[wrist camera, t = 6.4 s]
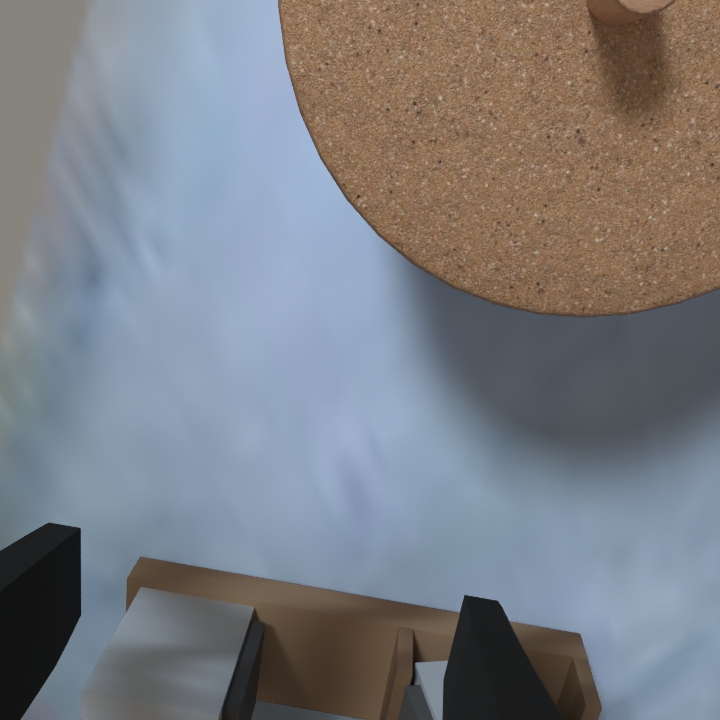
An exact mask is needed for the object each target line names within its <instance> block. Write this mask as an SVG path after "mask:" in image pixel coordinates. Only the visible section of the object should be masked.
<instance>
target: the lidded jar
mask: <svg viewBox="0 0 720 720" xmlns="http://www.w3.org/2000/svg"><path fill="white" fill-rule="evenodd" d="M278 8H279V15H280V23H281V30H282V38H283V45H284V53H285V60H286V64H287V68H288V72H289V75H290V79H291V82H292V86H293V89H294V93H295V96H296V100H297V103H298V107H299V111H300V114H301V116H302V118H303V120H304V123H305V125H306V127H307V129H308V131H309V134H310V136H311V138H312V140H313V143H314V145H315V147H316V149H317V152H318V154H319V156H320V158H321V160H322V162H323V163H324V165H325V166H326V168H327V169H328V171H329V173H330V174H331V176H332V177H333V179H334V180H335V182H336V184H337V185H338V187H339V188H340V190H341V191H342V193H343V194H344V196H345V198H346V199H347V200H348V202H349V203H350V204H351V205H352V206H353V207H354V208H355V210H356V211H357V212H358V213H359V214H360V215H361V216H362V217H363V219H364V220H365V221H366V222H367V223H368V224H369V225H370V227H371V228H372V229H373V230H374V231H375V232H376V233H377V234H378V236H380V237H381V238H382V239H383V240H385V241H386V242H387V243H388V244H389V245H391V246H392V247H393V248H394V249H395V250H397V251H398V252H399V253H400V254H401V255H403V256H404V257H405V258H406V259H407V260H409V261H410V262H411V263H412V264H414V265H415V266H417V267H419V268H420V269H422V270H424V271H425V272H427V273H429V274H430V275H432V276H434V277H435V278H437V279H439V280H441V281H442V282H444V283H446V284H447V285H449V286H451V287H452V288H455V289H457V290H460V291H462V292H465V293H468V294H470V295H473V296H475V297H478V298H480V299H483V300H485V301H488V302H490V303H493V304H496V305H501V306H505V307H509V308H514V309H518V310H523V311H527V312H531V313H536V314H544V315H558V316H573V317H596V316H609V315H622V314H633V313H637V312H642V311H646V310H651V309H656V308H660V307H665V306H669V305H674V304H678V303H681V302H684V301H687V300H689V299H692V298H695V297H698V296H700V295H703V294H706V293H708V292H711V291H714V290H717V289H719V288H720V0H278Z"/></svg>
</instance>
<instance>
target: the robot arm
mask: <svg viewBox="0 0 720 720" xmlns="http://www.w3.org/2000/svg"><path fill="white" fill-rule="evenodd" d="M80 616H81V528H77V527H71V526H65V525H60V524H54V523H47V524H45V525H43V526H42V527H40V528H38V529H36V530H35V531H33V532H31V533H30V534H28V535H26V536H24V537H23V538H21V539H19V540H18V541H16V542H14V543H13V544H11V545H10V546H8V547H6V548H5V549H3V550H1V551H0V720H20V719H21V718H22V716H23V715H24V713H25V712H26V710H27V709H28V707H29V706H30V704H31V703H32V701H33V700H34V698H35V697H36V695H37V694H38V692H39V691H40V689H41V688H42V686H43V685H44V683H45V682H46V680H47V678H48V677H49V675H50V674H51V672H52V671H53V669H54V668H55V666H56V664H57V662H58V660H59V658H60V656H61V654H62V652H63V651H64V649H65V647H66V645H67V643H68V641H69V639H70V637H71V635H72V633H73V630H74V628H75V626H76V624H77V622H78V620H79V618H80ZM442 720H565V719H564V717H563V716H562V714H561V713H560V711H559V709H558V708H557V706H556V705H555V703H554V701H553V700H552V698H551V696H550V695H549V693H548V691H547V690H546V688H545V686H544V684H543V683H542V681H541V679H540V678H539V676H538V674H537V673H536V671H535V669H534V667H533V666H532V664H531V662H530V660H529V658H528V656H527V655H526V653H525V651H524V649H523V647H522V645H521V643H520V642H519V640H518V638H517V636H516V634H515V632H514V630H513V628H512V626H511V624H510V622H509V620H508V618H507V616H506V614H505V612H504V610H503V608H502V606H501V605H500V603H499V602H498V601H496V600H490V599H484V598H478V597H473V596H467V595H464V599H463V603H462V607H461V611H460V615H459V619H458V623H457V627H456V631H455V635H454V639H453V643H452V647H451V651H450V655H449V659H448V663H447V667H446V671H445V675H444V679H443V716H442Z"/></svg>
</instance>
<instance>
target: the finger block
mask: <svg viewBox="0 0 720 720" xmlns="http://www.w3.org/2000/svg"><path fill="white" fill-rule="evenodd" d="M447 663H448V661H434V662H420V663H415V665H414V670H413V674H412V678H411V683H410V686H405V691H404V695H403V700H402V704H401V709H400V713H399V717H398V720H442V716H443V679H444V675H445V671H446V667H447Z"/></svg>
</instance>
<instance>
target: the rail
mask: <svg viewBox="0 0 720 720" xmlns="http://www.w3.org/2000/svg"><path fill="white" fill-rule="evenodd" d="M459 615H460V613H458V612H452V611H447V610H441V609H435V608H429V607H424V606H418V605H412V604H407V603H401V602H395V601H389V600H384V599H378V598H372V597H367V596H361V595H355V594H349V593H344V592H338V591H332V590H327V589H321V588H315V587H310V586H304V585H298V584H292V583H287V582H281V581H275V580H270V579H264V578H258V577H252V576H247V575H241V574H235V573H230V572H224V571H218V570H212V569H207V568H201V567H195V566H190V565H184V564H178V563H172V562H167V561H161V560H155V559H150V558H144V557H140V558H139V560H138V561H137V563H136V565H135V566H134V568H133V570H132V571H131V573H130V574H129V576H128V578H127V601H126V614H125V616H124V618H123V619H122V621H121V623H120V625H119V626H118V628H117V630H116V632H115V633H114V635H113V637H112V639H111V640H110V642H109V644H108V646H107V647H106V649H105V651H104V653H103V654H102V656H101V658H100V660H99V661H98V663H97V665H96V667H95V668H94V670H93V672H92V674H91V675H90V677H89V679H88V681H87V682H86V684H85V686H84V688H83V689H82V691H81V695H82V720H251V718H252V714H253V710H254V707H255V703H256V700H259V701H264V702H270V703H276V704H281V705H287V706H292V707H298V708H303V709H309V710H315V711H320V712H326V713H331V714H337V715H342V716H348V717H354V718H359V719H365V720H398V717H399V713H400V709H401V704H402V700H403V695H404V691H405V686H410V683H411V678H412V674H413V670H414V665H415V663H420V662H434V661H448V659H449V655H450V651H451V647H452V643H453V639H454V635H455V631H456V627H457V623H458V619H459ZM510 624H511V626H512V628H513V630H514V632H515V634H516V636H517V638H518V640H519V642H520V643H521V645H522V647H523V649H524V651H525V653H526V655H527V656H528V658H529V660H530V662H531V664H532V666H533V667H534V669H535V671H536V673H537V674H538V676H539V678H540V679H541V681H542V683H543V684H544V686H545V688H546V690H547V691H548V693H549V695H550V696H551V698H552V700H553V701H554V703H555V705H556V706H557V708H558V709H559V711H560V713H561V714H562V716H563V717H564V719H565V720H598V717H599V715H600V712H601V709H602V707H601V703H600V700H599V697H598V693H597V690H596V686H595V683H594V680H593V676H592V673H591V669H590V666H589V663H588V659H587V656H586V653H585V649H584V646H583V642H582V639H581V636H580V634H578V633H572V632H566V631H561V630H555V629H549V628H544V627H538V626H532V625H526V624H521V623H515V622H510Z"/></svg>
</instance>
